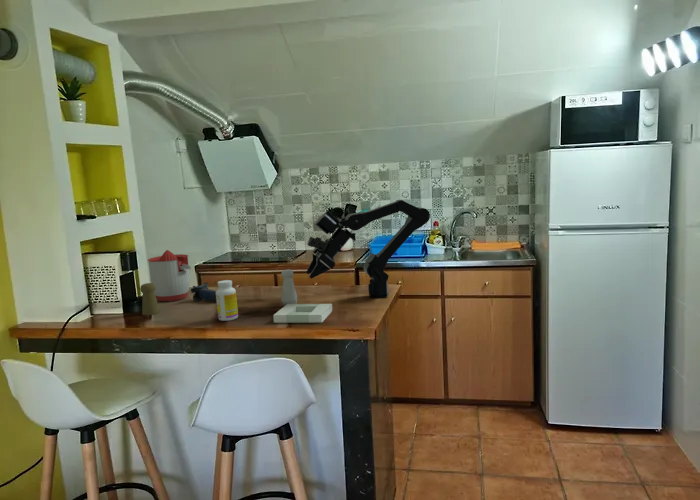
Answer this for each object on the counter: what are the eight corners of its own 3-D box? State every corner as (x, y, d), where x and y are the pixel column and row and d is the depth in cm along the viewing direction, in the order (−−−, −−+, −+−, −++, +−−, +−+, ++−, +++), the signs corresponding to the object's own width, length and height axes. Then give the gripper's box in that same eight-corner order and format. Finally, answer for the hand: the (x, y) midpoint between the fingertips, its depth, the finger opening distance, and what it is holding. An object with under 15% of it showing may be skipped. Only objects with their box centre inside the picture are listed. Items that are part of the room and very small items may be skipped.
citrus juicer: (179, 304, 212) (173, 253, 209) (143, 302, 218) (137, 253, 215) (204, 294, 226) (199, 246, 223) (170, 293, 233) (164, 247, 230)
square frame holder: (332, 310, 187) (331, 303, 187) (321, 322, 173) (321, 314, 173) (287, 311, 190) (287, 304, 190) (273, 322, 177) (273, 315, 176)
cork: (143, 316, 196) (139, 286, 195) (141, 312, 202) (137, 283, 200) (160, 313, 199) (157, 283, 197) (158, 310, 204) (154, 281, 203)
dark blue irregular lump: (193, 305, 215) (215, 309, 208) (189, 287, 212) (211, 291, 206) (209, 296, 222) (231, 299, 216) (205, 278, 219) (228, 281, 213)
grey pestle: (289, 308, 194) (286, 272, 193) (278, 306, 198) (275, 271, 196) (301, 304, 199) (298, 269, 197) (290, 302, 203) (287, 268, 201)
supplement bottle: (242, 316, 187) (238, 279, 185) (231, 321, 181) (228, 283, 179) (225, 315, 190) (221, 279, 188) (214, 321, 183) (210, 283, 182)
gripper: (316, 225, 206) (289, 257, 206) (323, 230, 188) (293, 265, 187) (338, 244, 209) (311, 276, 208) (347, 251, 190) (318, 285, 190)
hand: (308, 275), depth 198 cm, fingers open, 9 cm apart
